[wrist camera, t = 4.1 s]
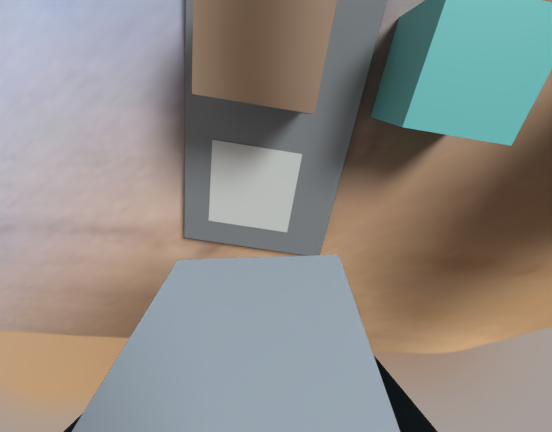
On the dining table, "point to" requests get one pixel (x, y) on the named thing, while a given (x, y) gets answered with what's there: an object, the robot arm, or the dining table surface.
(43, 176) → the dining table surface
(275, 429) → the grey block
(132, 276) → the dining table surface
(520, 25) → the teal block
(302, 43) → the walnut block
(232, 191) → the mat
